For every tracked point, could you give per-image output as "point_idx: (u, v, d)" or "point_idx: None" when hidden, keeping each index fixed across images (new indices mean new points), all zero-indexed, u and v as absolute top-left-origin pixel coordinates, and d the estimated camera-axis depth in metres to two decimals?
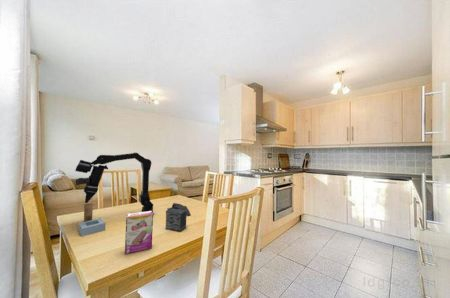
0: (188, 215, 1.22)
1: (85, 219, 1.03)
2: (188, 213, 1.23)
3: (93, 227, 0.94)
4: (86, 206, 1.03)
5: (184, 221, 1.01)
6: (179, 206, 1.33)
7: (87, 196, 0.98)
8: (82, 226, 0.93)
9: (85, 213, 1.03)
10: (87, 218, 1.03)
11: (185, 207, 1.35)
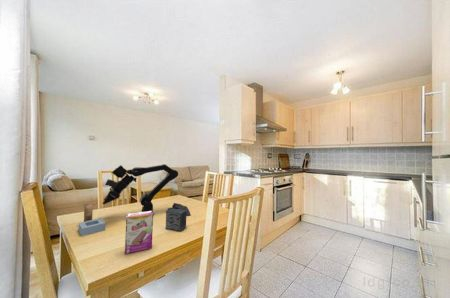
0: (188, 215, 1.22)
1: (85, 219, 1.03)
2: (188, 213, 1.23)
3: (93, 227, 0.94)
4: (86, 206, 1.03)
5: (184, 221, 1.01)
6: (179, 206, 1.33)
7: (107, 198, 1.05)
8: (82, 226, 0.93)
9: (85, 213, 1.03)
10: (87, 218, 1.03)
11: (185, 207, 1.35)
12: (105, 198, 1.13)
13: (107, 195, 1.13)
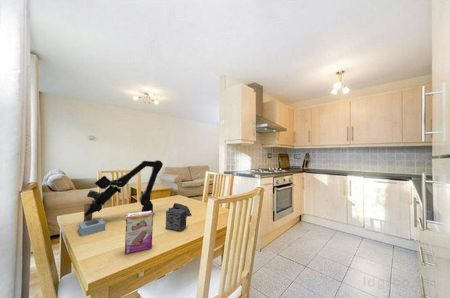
0: (189, 215, 1.22)
1: (85, 219, 1.03)
2: (189, 213, 1.23)
3: (93, 227, 0.94)
4: (86, 206, 1.03)
5: (184, 221, 1.01)
6: (180, 206, 1.33)
7: (89, 210, 1.02)
8: (82, 226, 0.93)
9: None
10: (87, 218, 1.03)
11: (186, 207, 1.35)
12: None
13: None
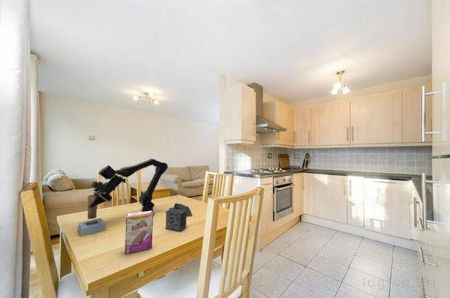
0: (189, 215, 1.22)
1: (90, 211, 0.96)
2: (190, 213, 1.23)
3: (93, 227, 0.94)
4: (91, 197, 0.97)
5: (184, 221, 1.01)
6: (181, 206, 1.33)
7: (96, 201, 0.97)
8: (82, 226, 0.93)
9: None
10: (93, 210, 0.97)
11: (187, 207, 1.35)
12: None
13: None
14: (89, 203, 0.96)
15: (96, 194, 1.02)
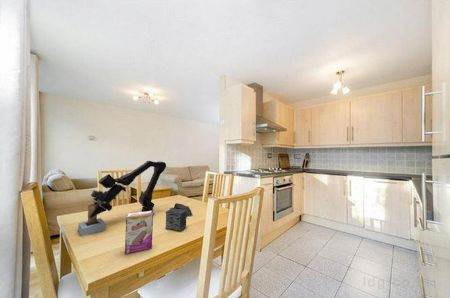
0: (190, 215, 1.22)
1: (90, 221, 0.96)
2: (190, 213, 1.23)
3: (93, 227, 0.94)
4: (91, 207, 0.96)
5: (184, 221, 1.01)
6: (181, 206, 1.32)
7: (96, 211, 0.97)
8: (82, 226, 0.93)
9: None
10: (93, 219, 0.97)
11: (187, 207, 1.35)
12: None
13: None
14: (89, 213, 0.96)
15: (96, 203, 1.02)
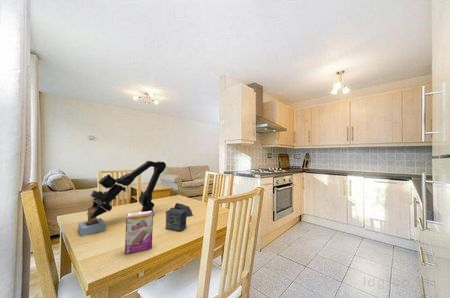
0: (190, 215, 1.21)
1: (90, 224, 0.96)
2: (190, 213, 1.23)
3: (93, 227, 0.94)
4: (91, 210, 0.96)
5: (184, 221, 1.01)
6: (181, 206, 1.32)
7: (96, 212, 0.95)
8: (82, 226, 0.93)
9: None
10: (93, 222, 0.97)
11: (187, 207, 1.35)
12: None
13: None
14: (89, 216, 0.96)
15: (95, 203, 1.03)
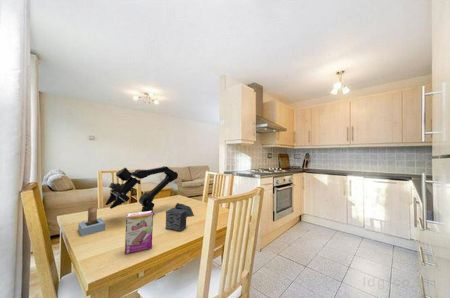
0: (191, 215, 1.21)
1: (90, 224, 0.96)
2: (191, 213, 1.23)
3: (93, 227, 0.94)
4: (91, 210, 0.96)
5: (184, 221, 1.01)
6: (182, 206, 1.32)
7: (115, 202, 1.02)
8: (82, 226, 0.93)
9: (90, 217, 0.96)
10: (93, 222, 0.97)
11: (188, 207, 1.35)
12: (107, 203, 1.07)
13: (108, 199, 1.08)
14: (89, 216, 0.96)
15: (112, 194, 1.10)
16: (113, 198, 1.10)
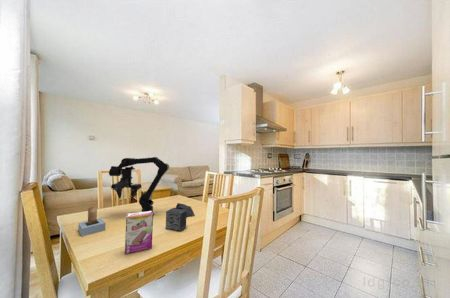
0: (192, 215, 1.21)
1: (90, 224, 0.96)
2: (192, 213, 1.22)
3: (93, 227, 0.94)
4: (91, 210, 0.96)
5: (184, 221, 1.01)
6: (183, 206, 1.32)
7: (133, 193, 1.19)
8: (82, 226, 0.93)
9: (90, 217, 0.96)
10: (93, 222, 0.97)
11: (189, 207, 1.35)
12: (119, 197, 1.20)
13: (119, 194, 1.19)
14: (89, 216, 0.96)
15: (117, 189, 1.19)
16: (120, 190, 1.21)
